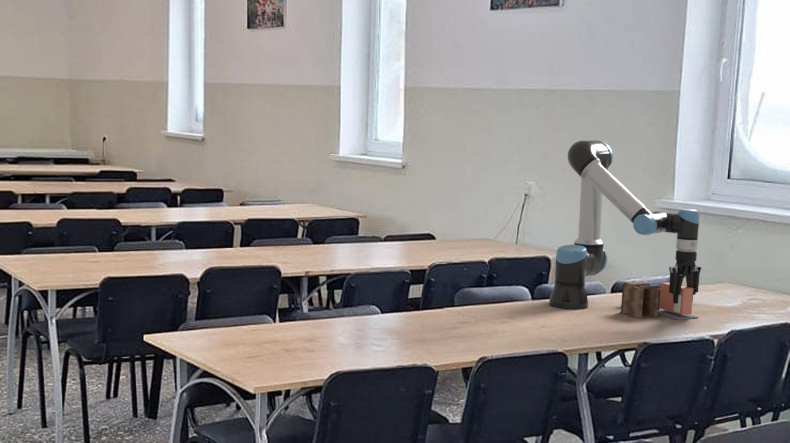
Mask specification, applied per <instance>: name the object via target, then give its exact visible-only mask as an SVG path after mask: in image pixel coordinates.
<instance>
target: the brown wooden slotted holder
mask: <svg viewBox="0 0 790 443" xmlns="http://www.w3.org/2000/svg"><path fill="white" fill-rule="evenodd" d="M634 281H635V282H632V281H623V283H622V290H621V304H620V305H621V306H620V307H621V308H620V313H622V312H623V313H622V314H625V313H626V315H628V314H629V315H628V316H632V317H635V318H638V319H642V318H643V315H647V316H650V317H654V318H658V314H657V313H658V297H659V288H660V285H658V284H650V283H649V282H647V283H646V282H645V281H641V280H639V281H638V280H637V281H636V280H634Z"/></svg>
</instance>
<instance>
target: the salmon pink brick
mask: <svg viewBox="0 0 790 443" xmlns="http://www.w3.org/2000/svg"><path fill="white" fill-rule="evenodd" d="M669 284H670V281H668V282H660V304H659V310H667V311H670V312H673V313H677V314H680V315H692V311H693V309H692V308H693V302H692V299H693V300H694V295H693V288H690V287H687V285H682V286H681V290H680V294H679V295H681V305H680V313H678V312H674V303H673V294H672V293H670V292H669ZM676 292H677V291H676Z"/></svg>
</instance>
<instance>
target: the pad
mask: <svg viewBox="0 0 790 443" xmlns="http://www.w3.org/2000/svg"><path fill="white" fill-rule="evenodd" d="M657 315H660V316H663V317H667V318H670V319H673V320H676V321H677V320H678V321H679V320H691V319H693V320H694V319H699V316H697V315H693V314H691V315H680V314H677V313H673V312H670V311H667V310H663V309H659V310H658V313H657Z"/></svg>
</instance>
